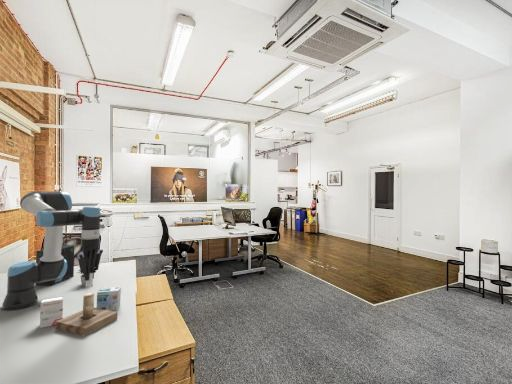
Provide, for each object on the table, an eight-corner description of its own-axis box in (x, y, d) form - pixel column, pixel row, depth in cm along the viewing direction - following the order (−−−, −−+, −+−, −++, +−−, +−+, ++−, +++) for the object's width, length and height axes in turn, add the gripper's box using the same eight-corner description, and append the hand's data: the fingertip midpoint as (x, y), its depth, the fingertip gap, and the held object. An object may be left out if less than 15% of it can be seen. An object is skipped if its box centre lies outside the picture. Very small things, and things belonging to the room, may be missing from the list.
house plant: (104, 281, 195) (105, 259, 195) (90, 287, 181) (91, 263, 181) (86, 280, 196) (86, 258, 197) (71, 286, 182) (72, 262, 183)
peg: (80, 325, 129) (81, 295, 130) (88, 321, 134) (89, 292, 134) (87, 326, 128) (88, 297, 128) (95, 322, 132) (96, 294, 132)
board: (55, 329, 125) (55, 321, 125) (90, 313, 142) (90, 306, 142) (84, 336, 119) (85, 328, 120) (117, 318, 137) (117, 311, 137)
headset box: (51, 286, 183) (52, 248, 184) (34, 285, 184) (35, 247, 184) (74, 276, 206) (75, 242, 206) (59, 276, 206) (60, 242, 207)
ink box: (62, 319, 134) (63, 296, 135) (62, 323, 130) (63, 299, 131) (40, 324, 130) (41, 299, 130) (39, 328, 126) (40, 302, 126)
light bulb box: (95, 312, 144) (96, 292, 144) (99, 307, 150) (100, 288, 151) (117, 310, 147) (118, 290, 147) (120, 305, 153) (121, 286, 153)
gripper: (84, 240, 124) (82, 291, 124) (107, 236, 137) (106, 283, 136) (72, 239, 127) (70, 289, 126) (96, 235, 139) (94, 281, 138)
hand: (89, 286), depth 131 cm, fingers closed
